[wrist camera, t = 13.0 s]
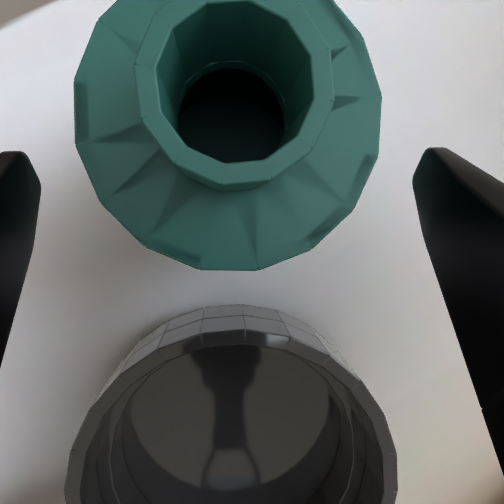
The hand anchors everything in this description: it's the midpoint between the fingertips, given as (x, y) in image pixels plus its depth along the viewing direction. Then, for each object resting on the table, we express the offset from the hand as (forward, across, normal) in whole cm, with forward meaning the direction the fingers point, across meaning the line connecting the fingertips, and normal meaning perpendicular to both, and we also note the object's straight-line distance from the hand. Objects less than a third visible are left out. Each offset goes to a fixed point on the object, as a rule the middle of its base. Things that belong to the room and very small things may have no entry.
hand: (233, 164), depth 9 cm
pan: (-2, 0, +15) cm, 15 cm away
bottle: (+8, 0, +6) cm, 10 cm away
